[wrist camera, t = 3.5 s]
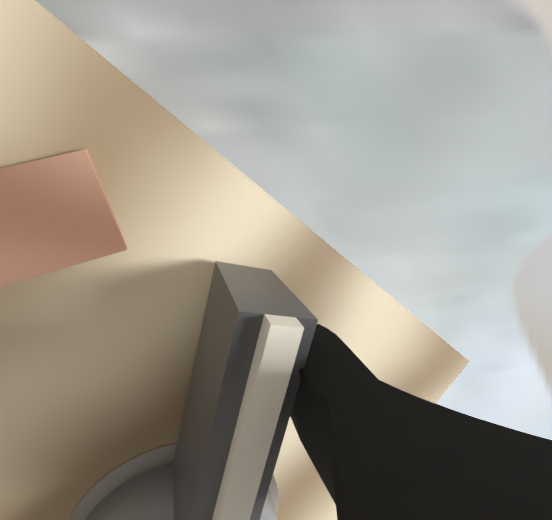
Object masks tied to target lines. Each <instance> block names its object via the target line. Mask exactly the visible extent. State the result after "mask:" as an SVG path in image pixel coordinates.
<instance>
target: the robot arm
mask: <svg viewBox="0 0 552 520" xmlns="http://www.w3.org/2000/svg"><path fill="white" fill-rule="evenodd" d="M299 373H300V378H301V380H300V384H299V387H298V391H297V394H296V397H295V401H294V404H293V408H292V411H291V415H290V417H291V419H292V422H293V424H294V426H295V429H296V431H297V433H298V436H299V438H300V441H301V442H302V444H303V446H304V448H305V450H306V452H307V454H308V455H309V457H310V459H311V461H312V463H313V465H314V466H315V468H316V470H317V472H318V474H319V476H320V477H321V479H322V481H323V483H324V485H325V487H326V488H327V490H328V492H329V494H330V496H331V497H332V499H333V501H334V503H335V505H336V511H337V520H552V440H549V439H545V438H541V437H537V436H534V435H530V434H526V433H523V432H520V431H516V430H513V429H510V428H506V427H503V426H500V425H497V424H493V423H490V422H487V421H484V420H480V419H477V418H474V417H471V416H468V415H465V414H462V413H459V412H456V411H454V410H451V409H448V408H446V407H443V406H440V405H438V404H435V403H432V402H430V401H427V400H425V399H422V398H419V397H417V396H414V395H412V394H410V393H407V392H405V391H402V390H400V389H398V388H396V387H393V386H391V385H389V384H387V383H385V382H383V381H381V380H378V379H377V377H376V376H375V375H374V374H373V373H372V372H371V371H370V370H369V369H368V368H367V367H366V366H365V364H364V363H363V362H362V361H361V360H360V359H359V358H358V357H357V356H356V355H355V354H354V353H353V351H352V350H351V349H350V348H349V347H348V346H347V345H346V344H345V343H344V342H343V341H342V340H341V339H340V338H339V337H338V336H337V335H336V334H335V333H333V332H332V331H331V330H329V329H328V328H326V327H324V326H322V325H320V324H317V326H316V329H315V332H314V336H313V339H312V343H311V346H310V350H309V353H308V356H307V360H306V363H305V367H304V368H302V369H300V370H299Z"/></svg>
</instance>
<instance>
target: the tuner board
mask: <svg viewBox="0 0 552 520" xmlns="http://www.w3.org/2000/svg"><path fill="white" fill-rule="evenodd" d="M216 261H218V262H224V263H230V264H236V265H243V266H249V267H255V268H262V269H268V270H272V271H273V272H274V273H275V274H276V275H277V276H278V277H279V279H280V280H281V281H282V282H283V283H284V284H285V285H286V286H287V287H288V288H289V289H290V290H291V291H292V292H293V294H294V295H295V296H296V297H297V298H298V299H299V300H300V301H301V302H302V303H303V304H304V305H305V306H306V307H307V308H308V310H309V311H310V312H311V313H312V314H313V315H314V316H315V317H316V318H317V319H318V322H317V324H320V325H322V326H324V327H326V328H328V329H329V330H331V331H332V332H333V333H335V334H336V335H337V336H338V337H339V338H340V339H341V340H342V341H343V342H344V343H345V344H346V345H347V346H348V347H349V348H350V349H351V350H352V351H353V353H354V354H355V355H356V356H357V357H358V358H359V359H360V360H361V361H362V362H363V363H364V364H365V366H366V367H367V368H368V369H369V370H370V371H371V372H372V373H373V374H374V375H375V376H376V377H377V379H378V380H381V381H383V382H385V383H387V384H389V385H391V386H393V387H396V388H398V389H400V390H402V391H405V392H407V393H410V394H412V395H414V396H417V397H419V398H422V399H425V400H427V401H430V402H432V403H436V402H437V401H438V400H439V398H440V397H441V396H442V395H443V393H444V392H445V391H446V390H447V388H448V387H449V386H450V385H451V384H452V382H453V381H454V380H455V379H456V377H457V376H458V375H459V374H460V372H461V371H462V370H463V369H464V367H465V366H466V365H467V364H468V363H469V361H468V360H467V359H466V358H465V357H463V356H462V355H461V354H460V353H458V352H457V351H456V350H455V349H454V348H452V347H451V346H450V345H449V344H448V343H446V342H445V341H444V340H443V339H442V338H440V337H439V336H438V335H437V334H436V333H434V332H433V331H432V330H431V329H430V328H428V327H427V326H426V325H425V324H424V323H422V322H421V321H420V320H419V319H418V318H416V317H415V316H414V315H413V314H412V313H410V312H409V311H408V310H407V309H406V308H404V307H403V306H402V305H401V304H400V303H398V302H397V301H396V300H395V299H394V298H392V297H391V296H390V295H389V294H388V293H386V292H385V291H384V290H383V289H382V288H380V287H379V286H378V285H377V284H376V283H374V282H373V281H372V280H371V279H370V278H368V277H367V276H366V275H365V274H363V273H362V272H361V271H360V270H359V269H357V268H356V267H355V266H354V265H353V264H351V263H350V262H349V261H348V260H347V259H345V258H344V257H343V256H342V255H341V254H339V253H338V252H337V251H336V250H335V249H333V248H332V247H331V246H330V245H329V244H327V243H326V242H325V241H324V240H323V239H321V238H320V237H319V236H318V235H317V234H315V233H314V232H313V231H312V230H311V229H309V228H308V227H307V226H306V225H305V224H303V223H302V222H301V221H300V220H299V219H297V218H296V217H295V216H294V215H293V214H291V213H290V212H289V211H288V210H287V209H285V208H284V207H283V206H282V205H281V204H279V203H278V202H277V201H276V200H275V199H273V198H272V197H271V196H270V195H268V194H267V193H266V192H265V191H264V190H262V189H261V188H260V187H259V186H258V185H256V184H255V183H254V182H253V181H252V180H250V179H249V178H248V177H247V176H246V175H244V174H243V173H242V172H241V171H240V170H238V169H237V168H236V167H235V166H234V165H232V164H231V163H230V162H229V161H228V160H226V159H225V158H224V157H223V156H222V155H220V154H219V153H218V152H217V151H216V150H214V149H213V148H212V147H211V146H210V145H208V144H207V143H206V142H205V141H204V140H202V139H201V138H200V137H199V136H198V135H196V134H195V133H194V132H193V131H192V130H190V129H189V128H188V127H187V126H186V125H184V124H183V123H182V122H181V121H179V120H178V119H177V118H176V117H175V116H173V115H172V114H171V113H170V112H169V111H167V110H166V109H165V108H164V107H163V106H161V105H160V104H159V103H158V102H157V101H155V100H154V99H153V98H152V97H151V96H149V95H148V94H147V93H146V92H145V91H143V90H142V89H141V88H140V87H139V86H137V85H136V84H135V83H134V82H133V81H131V80H130V79H129V78H128V77H127V76H125V75H124V74H123V73H122V72H121V71H119V70H118V69H117V68H116V67H115V66H113V65H112V64H111V63H110V62H109V61H107V60H106V59H105V58H104V57H103V56H101V55H100V54H99V53H98V52H97V51H95V50H94V49H93V48H92V47H91V46H89V45H88V44H87V43H86V42H84V41H83V40H82V39H81V38H80V37H78V36H77V35H76V34H75V33H74V32H72V31H71V30H70V29H69V28H68V27H66V26H65V25H64V24H63V23H62V22H60V21H59V20H58V19H57V18H56V17H54V16H53V15H52V14H51V13H50V12H48V11H47V10H46V9H45V8H44V7H42V6H41V5H40V4H39V3H38V2H36V1H35V0H0V520H86V518H87V517H88V515H89V514H90V513H91V512H92V510H93V509H94V508H95V507H96V506H97V505H98V504H99V503H100V502H101V501H102V500H103V499H104V498H105V497H106V496H107V495H109V494H110V493H111V492H112V491H114V490H115V489H116V488H118V487H119V486H121V485H122V484H124V483H125V482H127V481H128V480H130V479H132V478H134V477H136V476H138V475H140V474H142V473H144V472H146V471H149V470H151V469H153V468H156V467H159V466H162V465H165V464H169V463H172V462H173V459H174V454H175V449H176V445H177V440H178V435H179V431H180V426H181V421H182V416H183V412H184V407H185V402H186V398H187V393H188V388H189V384H190V379H191V374H192V370H193V365H194V360H195V356H196V351H197V346H198V342H199V337H200V332H201V328H202V323H203V318H204V313H205V309H206V304H207V299H208V295H209V290H210V285H211V281H212V276H213V271H214V267H215V262H216ZM269 492H270V495H271V498H272V501H273V504H274V508H275V511H276V514H277V517H278V520H337V511H336V505H335V503H334V501H333V499H332V497H331V496H330V494H329V492H328V490H327V488H326V487H325V485H324V483H323V481H322V479H321V477H320V476H319V474H318V472H317V470H316V468H315V466H314V465H313V463H312V461H311V459H310V457H309V455H308V454H307V452H306V450H305V448H304V446H303V444H302V442H301V441H300V438H299V436H298V433H297V431H296V429H295V426H294V424H293V422H292V419H291V417H290V418H289V421H288V425H287V428H286V432H285V435H284V438H283V442H282V445H281V449H280V452H279V456H278V459H277V462H276V466H275V469H274V473H273V476H272V480H271V483H270V486H269Z"/></svg>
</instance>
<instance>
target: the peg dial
mask: <svg viewBox="0 0 552 520" xmlns="http://www.w3.org/2000/svg"><path fill="white" fill-rule="evenodd" d="M317 322H318V319H317V318H316V317H315V316H314V315H313V314H312V313H311V312H310V311H309V310H308V308H307V307H306V306H305V305H304V304H303V303H302V302H301V301H300V300H299V299H298V298H297V297H296V296H295V295H294V294H293V292H292V291H291V290H290V289H289V288H288V287H287V286H286V285H285V284H284V283H283V282H282V281H281V280H280V279H279V277H278V276H277V275H276V274H275V273H274V272H273V271H272V270H268V269H262V268H255V267H249V266H243V265H236V264H230V263H224V262H218V261H216V262H215V267H214V271H213V276H212V281H211V285H210V290H209V295H208V299H207V304H206V309H205V313H204V318H203V323H202V328H201V332H200V337H199V342H198V346H197V351H196V356H195V360H194V365H193V370H192V374H191V379H190V384H189V388H188V393H187V398H186V402H185V407H184V412H183V416H182V421H181V426H180V431H179V435H178V440H177V445H176V449H175V454H174V459H173V462H172V463H169V464H165V465H162V466H159V467H156V468H153V469H151V470H149V471H146V472H144V473H142V474H140V475H138V476H136V477H134V478H132V479H130V480H128V481H127V482H125V483H124V484H122V485H121V486H119V487H118V488H116V489H115V490H114V491H112V492H111V493H110V494H109V495H107V496H106V497H105V498H104V499H103V500H102V501H101V502H100V503H99V504H98V505H97V506H96V507H95V508H94V509H93V510H92V512H91V513H90V514H89V515H88V517H87V518H86V520H278V517H277V514H276V511H275V508H274V504H273V501H272V498H271V495H270V492H269V486H270V483H271V480H272V476H273V473H274V469H275V466H276V462H277V459H278V456H279V452H280V449H281V445H282V442H283V438H284V435H285V432H286V428H287V425H288V421H289V418H290V415H291V411H292V408H293V404H294V401H295V397H296V394H297V391H298V387H299V384H300V380H301V378H300V373H299V370H300V369H302V368H304V367H305V363H306V360H307V356H308V353H309V350H310V346H311V343H312V339H313V336H314V332H315V329H316V326H317Z"/></svg>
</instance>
